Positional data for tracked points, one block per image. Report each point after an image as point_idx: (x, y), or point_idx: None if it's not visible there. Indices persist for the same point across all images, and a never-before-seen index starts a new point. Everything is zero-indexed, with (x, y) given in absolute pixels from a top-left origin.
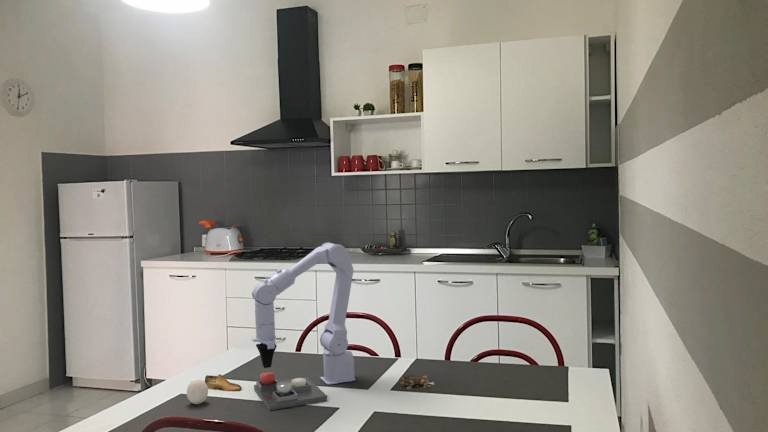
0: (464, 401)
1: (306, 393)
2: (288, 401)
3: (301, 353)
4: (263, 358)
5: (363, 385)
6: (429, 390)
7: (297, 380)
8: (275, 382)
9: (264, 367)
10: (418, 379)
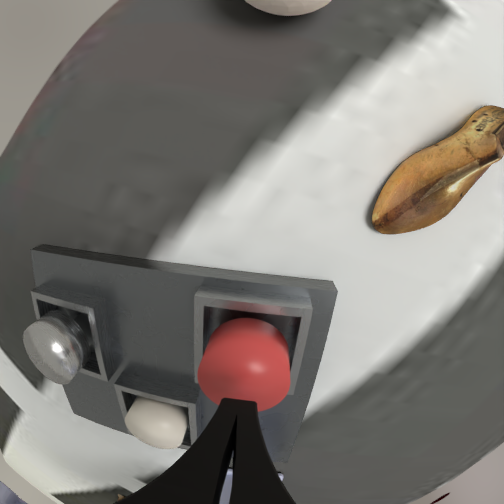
0: (54, 476)
1: (102, 396)
2: None
3: (495, 446)
4: (190, 452)
5: None
6: (103, 495)
7: (150, 428)
8: None
9: (222, 400)
10: None
